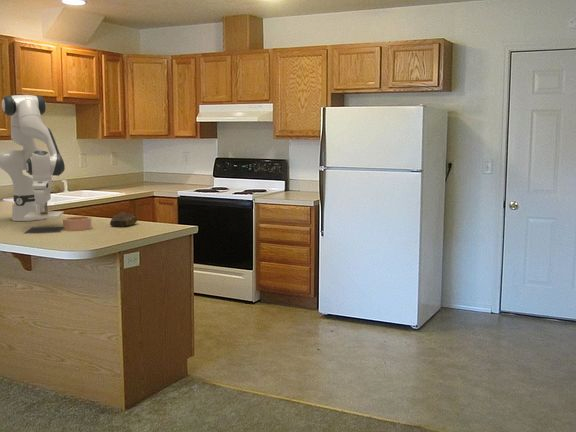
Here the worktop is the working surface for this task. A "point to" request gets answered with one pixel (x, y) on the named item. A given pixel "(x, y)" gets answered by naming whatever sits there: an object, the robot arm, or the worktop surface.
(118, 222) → the stone
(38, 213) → the white square lid
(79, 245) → the worktop surface
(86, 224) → the bowl
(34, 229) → the mat
